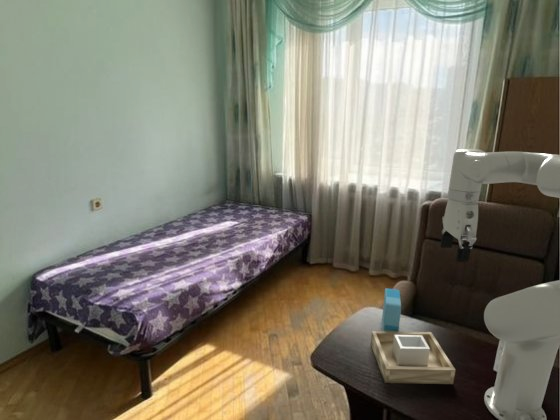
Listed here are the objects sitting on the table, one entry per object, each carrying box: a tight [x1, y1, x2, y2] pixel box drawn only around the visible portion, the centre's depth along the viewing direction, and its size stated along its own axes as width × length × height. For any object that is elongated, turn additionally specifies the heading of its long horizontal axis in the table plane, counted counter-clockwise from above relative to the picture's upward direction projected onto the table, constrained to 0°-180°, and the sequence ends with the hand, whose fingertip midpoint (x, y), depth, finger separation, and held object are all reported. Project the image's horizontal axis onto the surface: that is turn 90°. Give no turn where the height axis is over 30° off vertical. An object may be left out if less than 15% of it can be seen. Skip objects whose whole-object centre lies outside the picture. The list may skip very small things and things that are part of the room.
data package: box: [381, 287, 402, 332], centre depth 115 cm, size 12×4×12 cm, turn 165°
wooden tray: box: [370, 330, 456, 385], centre depth 100 cm, size 16×18×4 cm
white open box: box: [392, 335, 430, 367], centre depth 100 cm, size 6×8×6 cm
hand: (453, 254), depth 100 cm, fingers open, 9 cm apart
